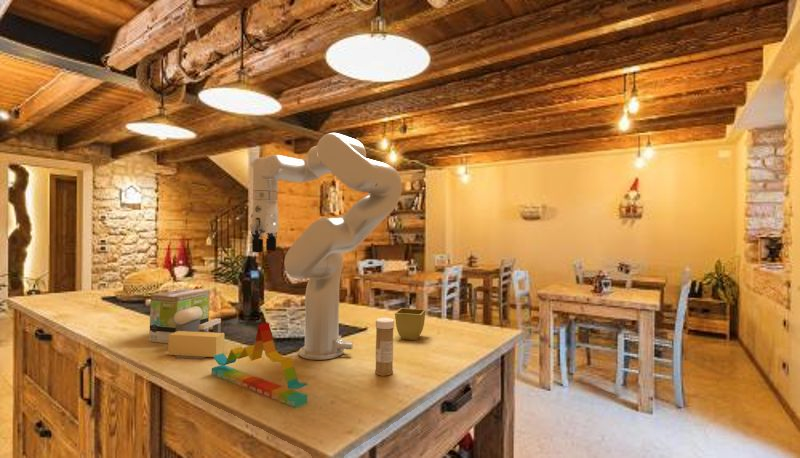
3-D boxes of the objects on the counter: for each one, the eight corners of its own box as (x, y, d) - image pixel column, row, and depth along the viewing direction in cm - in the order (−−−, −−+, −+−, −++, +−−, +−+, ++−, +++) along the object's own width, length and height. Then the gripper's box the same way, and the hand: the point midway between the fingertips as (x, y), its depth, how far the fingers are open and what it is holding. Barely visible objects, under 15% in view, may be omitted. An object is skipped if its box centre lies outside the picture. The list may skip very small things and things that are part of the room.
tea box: (176, 344, 121) (177, 295, 121) (148, 342, 123) (148, 294, 123) (209, 332, 135) (210, 288, 135) (184, 330, 137) (184, 287, 137)
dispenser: (190, 340, 125) (191, 305, 125) (221, 342, 124) (221, 306, 124) (172, 348, 116) (172, 311, 116) (204, 350, 115) (205, 312, 115)
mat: (215, 352, 114) (215, 350, 114) (203, 359, 108) (203, 357, 108) (189, 351, 114) (189, 349, 114) (175, 357, 108) (175, 356, 108)
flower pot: (393, 340, 128) (394, 312, 128) (400, 333, 137) (400, 307, 137) (420, 342, 126) (421, 314, 126) (425, 335, 135) (425, 309, 135)
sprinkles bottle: (374, 370, 101) (375, 317, 101) (392, 369, 102) (393, 317, 102) (375, 376, 97) (376, 321, 97) (394, 376, 97) (394, 321, 97)
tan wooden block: (224, 352, 112) (224, 333, 112) (216, 357, 108) (216, 336, 108) (177, 350, 114) (178, 331, 114) (168, 354, 110) (168, 334, 110)
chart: (210, 376, 96) (211, 314, 96) (222, 372, 99) (223, 312, 99) (294, 410, 79) (295, 334, 79) (306, 404, 82) (307, 331, 82)
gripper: (264, 195, 117) (263, 253, 117) (287, 199, 134) (286, 250, 134) (240, 195, 118) (239, 252, 118) (265, 199, 135) (265, 249, 135)
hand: (264, 251), depth 126 cm, fingers open, 9 cm apart
